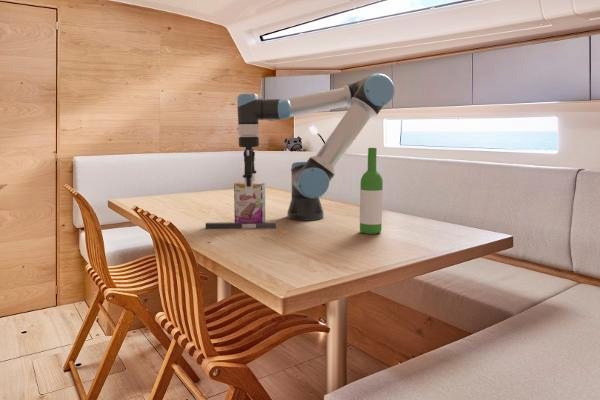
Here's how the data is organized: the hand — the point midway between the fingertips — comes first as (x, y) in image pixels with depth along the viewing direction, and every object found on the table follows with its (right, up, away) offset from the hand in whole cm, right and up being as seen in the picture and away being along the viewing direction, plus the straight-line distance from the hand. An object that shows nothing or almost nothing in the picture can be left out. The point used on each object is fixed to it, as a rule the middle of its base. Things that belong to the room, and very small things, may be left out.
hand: (250, 192), depth 176 cm
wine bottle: (+44, -14, -10) cm, 47 cm away
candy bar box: (0, -13, +2) cm, 13 cm away
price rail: (-3, -13, -3) cm, 14 cm away
